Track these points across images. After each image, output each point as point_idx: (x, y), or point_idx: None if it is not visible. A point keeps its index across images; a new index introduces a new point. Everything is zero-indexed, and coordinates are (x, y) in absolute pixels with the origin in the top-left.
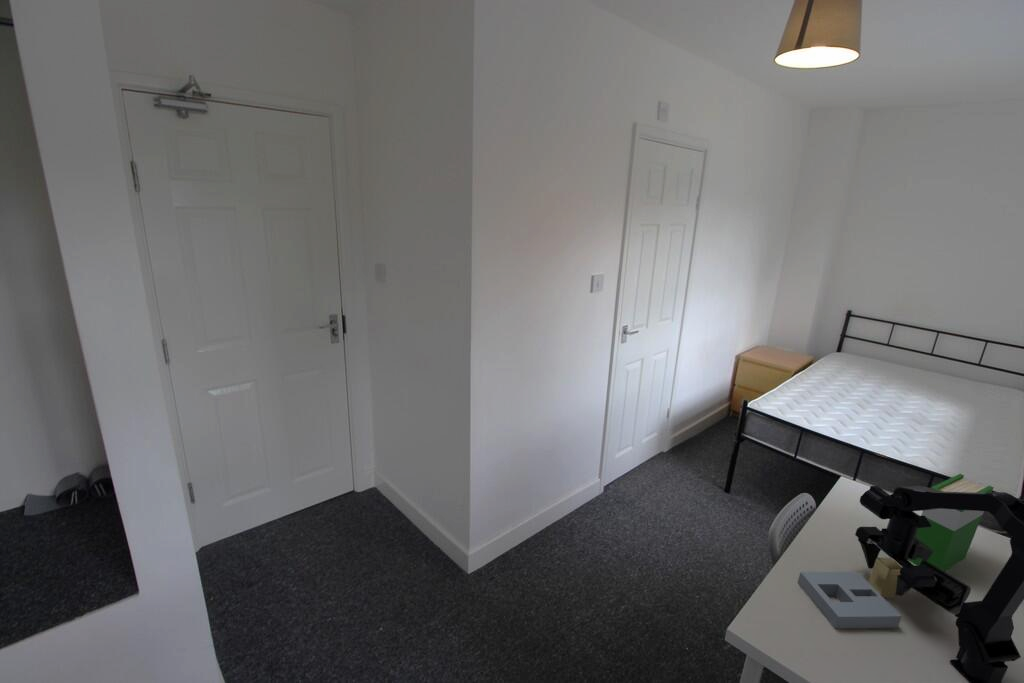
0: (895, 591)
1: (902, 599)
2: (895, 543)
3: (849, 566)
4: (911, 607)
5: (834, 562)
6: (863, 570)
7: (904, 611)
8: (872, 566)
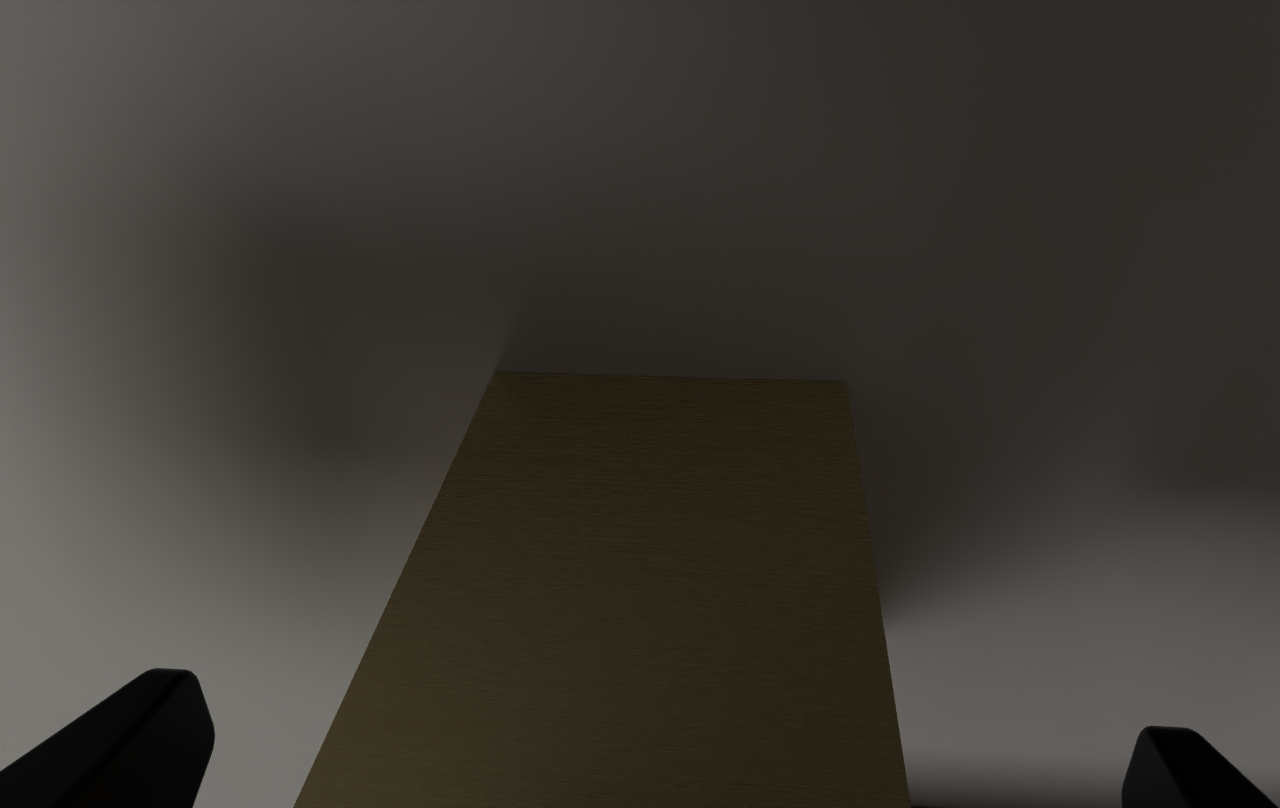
0: (862, 494)
1: (927, 226)
2: None
3: (45, 591)
4: (1189, 212)
5: (23, 747)
6: (81, 413)
7: (1233, 468)
8: (161, 738)
